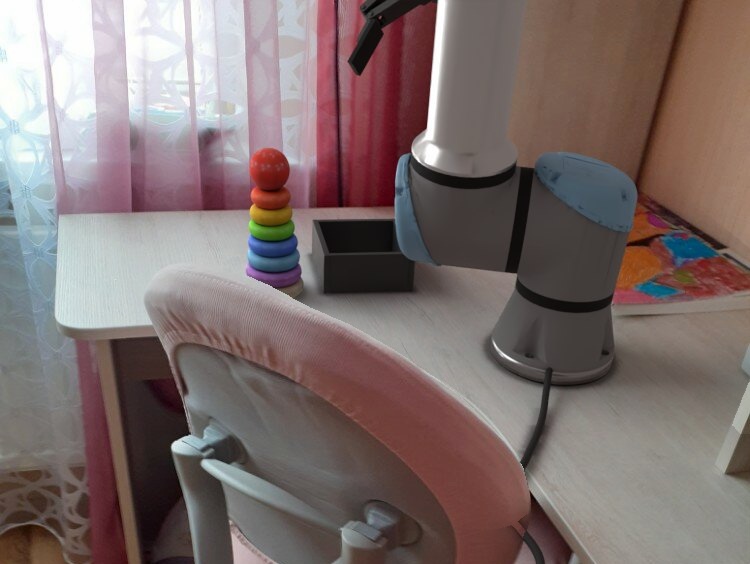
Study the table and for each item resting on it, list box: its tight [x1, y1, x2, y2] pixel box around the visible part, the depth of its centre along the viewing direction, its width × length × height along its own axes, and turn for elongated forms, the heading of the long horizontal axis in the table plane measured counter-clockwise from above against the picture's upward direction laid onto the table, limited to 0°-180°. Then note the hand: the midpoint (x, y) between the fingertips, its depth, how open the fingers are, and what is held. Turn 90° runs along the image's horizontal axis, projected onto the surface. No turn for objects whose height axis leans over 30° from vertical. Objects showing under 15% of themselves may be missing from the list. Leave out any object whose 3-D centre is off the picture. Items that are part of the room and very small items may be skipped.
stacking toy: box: [245, 147, 305, 299], centre depth 110 cm, size 8×8×19 cm
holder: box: [311, 218, 416, 295], centre depth 120 cm, size 13×13×6 cm
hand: (393, 79), depth 110 cm, fingers open, 13 cm apart
